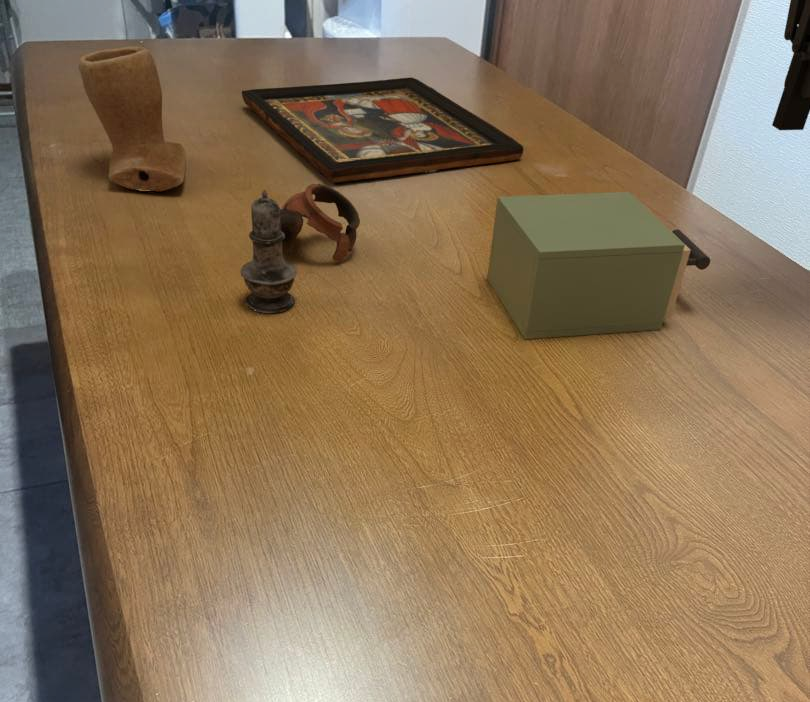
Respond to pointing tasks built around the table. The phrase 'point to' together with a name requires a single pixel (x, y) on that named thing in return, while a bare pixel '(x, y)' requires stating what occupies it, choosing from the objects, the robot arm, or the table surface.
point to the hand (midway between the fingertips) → (787, 127)
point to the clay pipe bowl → (132, 118)
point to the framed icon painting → (379, 128)
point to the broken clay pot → (319, 218)
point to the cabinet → (582, 264)
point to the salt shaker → (268, 261)
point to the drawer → (689, 258)
